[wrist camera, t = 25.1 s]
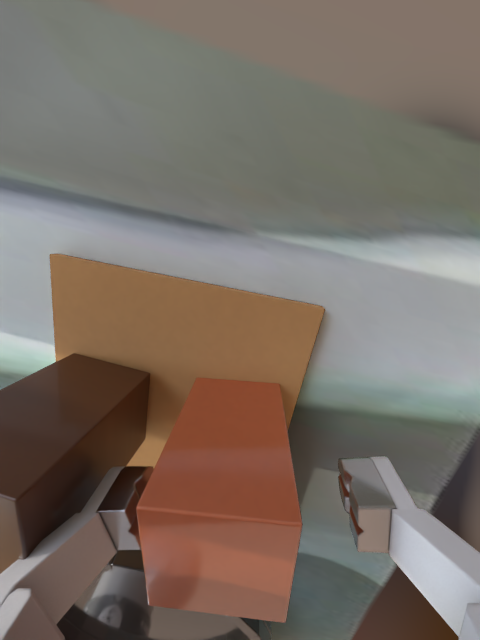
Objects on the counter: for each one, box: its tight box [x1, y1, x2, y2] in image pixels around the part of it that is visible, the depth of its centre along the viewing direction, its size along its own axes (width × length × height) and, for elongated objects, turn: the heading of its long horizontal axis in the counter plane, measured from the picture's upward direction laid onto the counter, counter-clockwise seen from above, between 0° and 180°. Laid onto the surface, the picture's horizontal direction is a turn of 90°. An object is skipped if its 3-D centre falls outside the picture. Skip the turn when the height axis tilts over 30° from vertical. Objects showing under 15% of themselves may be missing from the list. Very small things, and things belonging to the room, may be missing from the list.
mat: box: [50, 254, 325, 468], centre depth 12 cm, size 13×12×1 cm
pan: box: [56, 550, 272, 640], centre depth 17 cm, size 19×19×2 cm
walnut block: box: [0, 353, 150, 574], centre depth 9 cm, size 4×4×6 cm
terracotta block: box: [136, 377, 303, 623], centre depth 9 cm, size 4×4×6 cm
